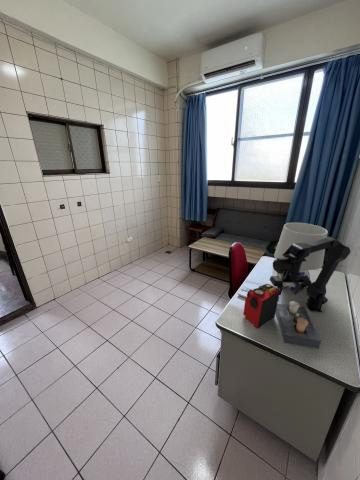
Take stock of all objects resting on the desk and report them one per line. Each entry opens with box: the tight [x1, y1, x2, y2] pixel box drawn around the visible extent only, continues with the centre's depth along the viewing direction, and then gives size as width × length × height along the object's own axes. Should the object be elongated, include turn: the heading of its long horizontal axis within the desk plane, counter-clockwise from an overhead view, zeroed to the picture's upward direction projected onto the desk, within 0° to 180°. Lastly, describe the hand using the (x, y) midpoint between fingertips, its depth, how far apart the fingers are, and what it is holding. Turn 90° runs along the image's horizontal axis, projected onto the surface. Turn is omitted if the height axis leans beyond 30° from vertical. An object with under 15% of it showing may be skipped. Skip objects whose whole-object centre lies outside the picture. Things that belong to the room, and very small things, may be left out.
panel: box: [275, 302, 322, 350], centre depth 100 cm, size 14×22×5 cm, turn 168°
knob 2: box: [295, 318, 308, 333], centre depth 93 cm, size 4×4×6 cm
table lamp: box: [273, 222, 328, 291], centre depth 128 cm, size 27×27×40 cm
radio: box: [242, 283, 281, 330], centre depth 104 cm, size 16×10×20 cm, turn 124°
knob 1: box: [289, 300, 300, 315], centre depth 104 cm, size 4×4×6 cm
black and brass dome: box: [293, 313, 301, 322], centre depth 99 cm, size 3×3×4 cm
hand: (286, 294), depth 106 cm, fingers open, 8 cm apart
